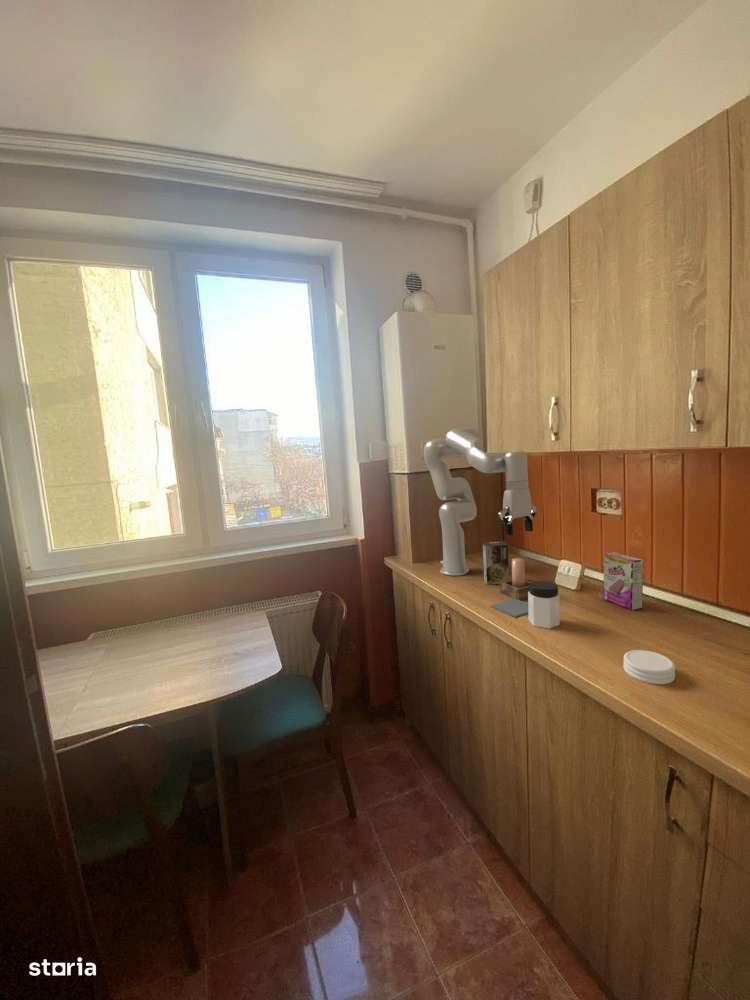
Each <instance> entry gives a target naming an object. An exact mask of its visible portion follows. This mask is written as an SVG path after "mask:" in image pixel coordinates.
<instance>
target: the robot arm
mask: <svg viewBox="0 0 750 1000" xmlns="http://www.w3.org/2000/svg"><path fill="white" fill-rule="evenodd" d="M483 449H484V442H483V440H482V439H481V438H480V434H479V433H478V431H477V430H476V429H474V428H472V427H457V428H452V429H450V430H448V432H447V433H446V435H445V438H438V439H432V440H429V441H427V443H426V444H425V445H424V448H423V459H424V463H425V465H426V467H427V469H428V470H429V473H430V476H431V480H432V484H433V487H434V490H435V493H436V496H437V498H438V499H439V500H442V501H449V500H455V499H456V500H455V501H449V502H445V503H443V504H442V505H441V506H440V507H439V510H438V516H439V521H440V524H441V525H440V526H441V535H442V537H441V538H442V556H443V557H442V560H440V563H439V564H441V565H442V567H441V568H440V573H441V574H442V575H445V576H453V577H455V576H456V577H457V576H464V575H467V574H469V572H470V569H469V567H467V566H466V553H465V551H466V550H465V547H466V545H465V532H464V529H463V528H462V525H461V524H460V523H464V522H468V521H472V520H474V519H475V518H476V516H477V515H478V514H477V513H478V512H477V511H478V510H477V505H476V501H475V498H474V495H473V493H472V489H471V485H470V484H469V482H468V481H467V479H465V478H464V477H453V476H452V474H451V472H450V471H451V470H450V468H449V467H448V465H447V464H446V463H445V461H443V460H442V459H447V458H448V459H450V458H456V457H460V456H462V455H464V456H466V459H467V462H468V463H469V465H470V466H471V467H473V468H474V469H476V470H477V471H479V472H481V473H483V474H496V473H505V474H504V475H505V490H504V492H503V498H502V509H501V510H500V511H499V512H498V516H499V519H500V521H502V524H503V525H504V535H507V536H513V533H514V532H513V531H514V529H513V524H512V522H513V520H514V519H519V518H524V531H526V532H533V527H534V526H533V521H534V519H535V516H536V511H537V510H538V509H537V507H536V506H535V505H533V503H532V497H531V492H530V488H529V484H530V482H529V477H528V476H529V475H528V473H529V472H528V455H527V452H526V451H524V450H517V451H498V452H497V451H496V452H495V451H494V452H493V451H492V452H486V451H484V450H483Z"/></svg>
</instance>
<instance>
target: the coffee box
mask: <svg viewBox="0 0 750 1000" xmlns="http://www.w3.org/2000/svg"><path fill="white" fill-rule="evenodd" d="M482 559H483V561H482V562H483V581H484V583H485V584H486V585H500V583H501V582H504V581H508V580H510V567H509V565H510V564H509V544H507V542H506V541H486V542H485V541H484V542H482Z"/></svg>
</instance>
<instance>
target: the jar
mask: <svg viewBox="0 0 750 1000" xmlns="http://www.w3.org/2000/svg"><path fill="white" fill-rule="evenodd" d="M531 582H532V583H530V584H529V592H528V598H527V601H528V602H527V604H528V621H529V622H530V624H532V626H533V627H537V628H543V629H549V630H550V629H552V628H555V627H558V626H560V625H561V622H560V615H561V614H560V594H559V587H558V585H557V583H554V582H552V581H551V582H550V581H547V580H546V581H545V580H539V581H538V580H536V581H531Z"/></svg>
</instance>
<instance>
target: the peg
mask: <svg viewBox="0 0 750 1000" xmlns="http://www.w3.org/2000/svg"><path fill="white" fill-rule="evenodd" d="M525 566H526V565H525V559H524V558H520V557H519V558H518V557H517V558H516V557H515V558H512V559H511V580H512V586H514V587H517V588H521V587H524V586H525V580H526V575H525V573H526V571H525Z"/></svg>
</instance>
